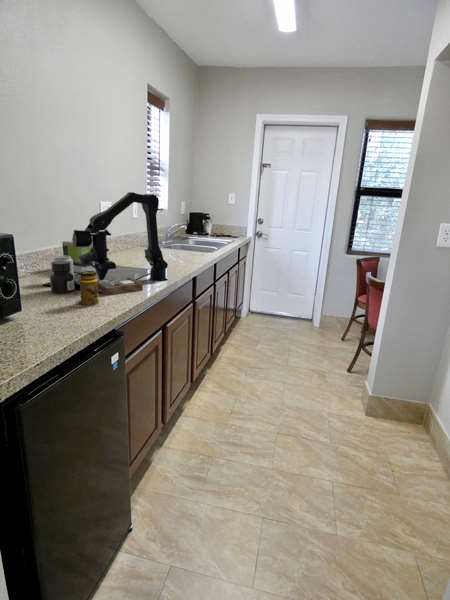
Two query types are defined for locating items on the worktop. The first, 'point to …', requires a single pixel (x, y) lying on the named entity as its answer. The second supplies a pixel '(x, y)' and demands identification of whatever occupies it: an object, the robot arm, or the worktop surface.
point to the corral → (120, 288)
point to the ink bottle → (61, 278)
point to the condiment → (88, 290)
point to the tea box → (77, 256)
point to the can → (66, 258)
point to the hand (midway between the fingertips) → (101, 281)
